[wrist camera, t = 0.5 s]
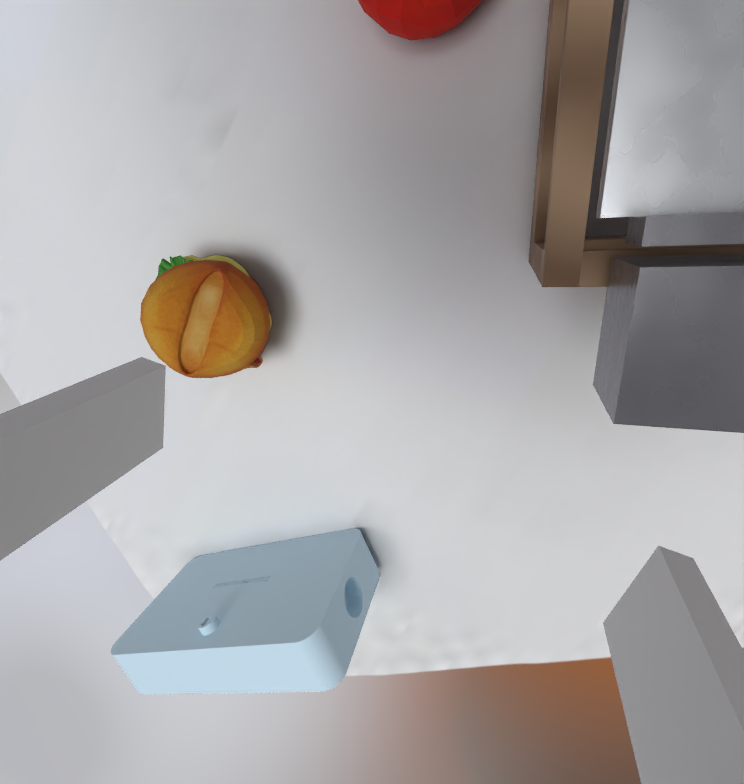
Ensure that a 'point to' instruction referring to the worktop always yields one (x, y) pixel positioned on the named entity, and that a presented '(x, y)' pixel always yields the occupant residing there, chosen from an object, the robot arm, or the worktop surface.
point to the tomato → (418, 16)
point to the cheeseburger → (205, 316)
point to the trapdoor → (676, 218)
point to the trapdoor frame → (578, 154)
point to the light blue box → (255, 619)
